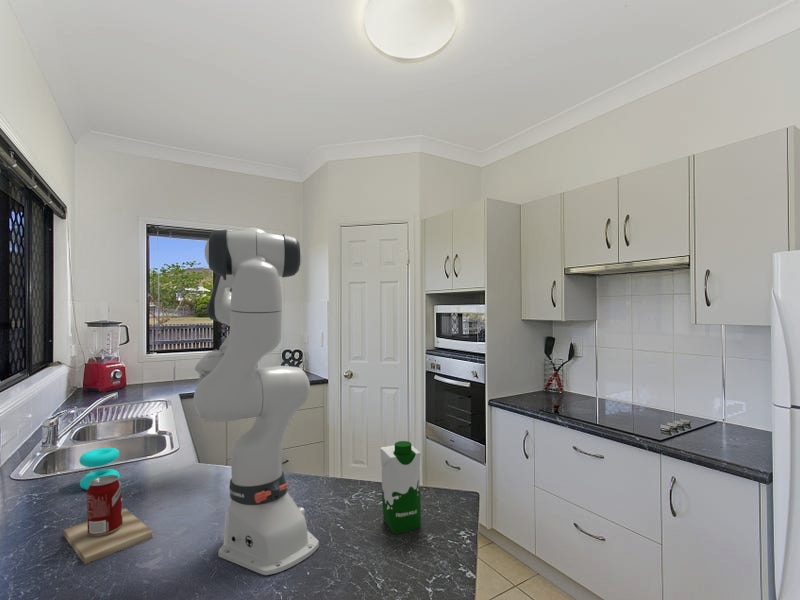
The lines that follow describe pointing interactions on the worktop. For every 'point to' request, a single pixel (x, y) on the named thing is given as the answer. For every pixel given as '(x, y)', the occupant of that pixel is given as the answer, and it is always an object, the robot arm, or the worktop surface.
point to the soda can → (104, 505)
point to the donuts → (98, 464)
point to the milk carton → (401, 487)
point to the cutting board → (107, 538)
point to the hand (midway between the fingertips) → (210, 386)
